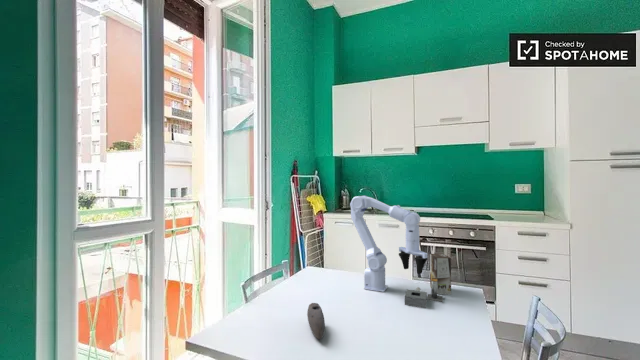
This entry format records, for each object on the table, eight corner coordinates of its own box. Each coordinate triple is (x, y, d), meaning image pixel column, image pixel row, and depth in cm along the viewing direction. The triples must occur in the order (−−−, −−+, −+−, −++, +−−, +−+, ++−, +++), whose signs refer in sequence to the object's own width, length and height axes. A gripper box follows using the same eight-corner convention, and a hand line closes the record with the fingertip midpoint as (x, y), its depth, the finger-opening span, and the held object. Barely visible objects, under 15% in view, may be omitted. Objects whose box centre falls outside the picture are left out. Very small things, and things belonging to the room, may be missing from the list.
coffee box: (451, 294, 125) (451, 257, 126) (437, 294, 126) (436, 257, 126) (443, 287, 135) (443, 253, 135) (429, 287, 135) (429, 252, 135)
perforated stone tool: (328, 343, 87) (328, 320, 87) (311, 345, 87) (311, 321, 87) (321, 320, 102) (321, 301, 102) (306, 321, 101) (306, 301, 102)
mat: (426, 300, 120) (426, 298, 120) (427, 295, 125) (427, 293, 125) (442, 302, 117) (442, 301, 117) (442, 297, 123) (442, 296, 123)
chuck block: (404, 304, 115) (404, 296, 115) (408, 291, 129) (408, 284, 129) (425, 308, 112) (425, 299, 112) (427, 294, 126) (427, 286, 126)
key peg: (435, 299, 119) (435, 280, 120) (430, 297, 121) (430, 278, 121) (438, 297, 121) (438, 278, 121) (433, 295, 123) (433, 277, 123)
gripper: (393, 238, 130) (394, 268, 130) (419, 244, 117) (419, 277, 117) (405, 236, 134) (405, 266, 133) (430, 242, 121) (431, 274, 121)
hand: (412, 271), depth 126 cm, fingers open, 7 cm apart
